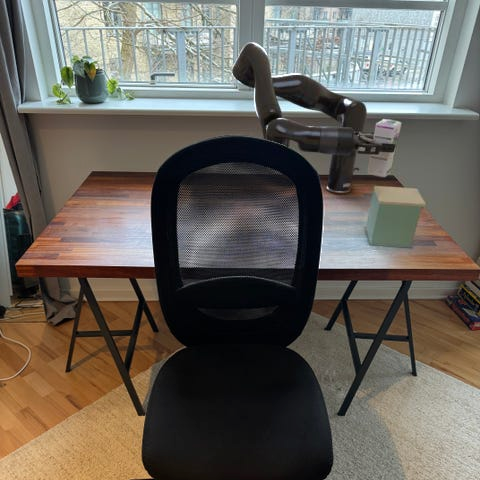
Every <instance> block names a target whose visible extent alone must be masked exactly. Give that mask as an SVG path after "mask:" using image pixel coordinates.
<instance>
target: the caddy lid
mask: <svg viewBox="0 0 480 480" xmlns="http://www.w3.org/2000/svg"><path fill="white" fill-rule="evenodd" d="M373 190H375V192H376V195H377V198H378V200H379V203H380V204H394V205H409V206H422V207H425V208H426V202H425V200H424V198H423V197H422V195H421V193H420V192H419V190H418V188H417V187H398V186H385V185H384V186H383V185H382V186H381V185H374V186H373Z"/></svg>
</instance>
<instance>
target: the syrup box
mask: <svg viewBox="0 0 480 480" xmlns="http://www.w3.org/2000/svg"><path fill="white" fill-rule="evenodd" d="M401 128H402V121H399V120H395V119H388V118H382V119H381V120H380V121H377V122H376V123H375V127H374V132H373V133H374V137H373V139H374V140H375V142H378V143H388V144H395V150H394V152H393V153H390V152H380V153H379V155H374V154H369V159H368V165H367V169H366V173H367V175H372V176H376V177H381V178H386V177H387V176H389V174H390V173H392V169H393V163H394V159H395V155H396V150H397V146H398V141H399V137H400V132H401ZM375 148H376V147H374V149H375Z"/></svg>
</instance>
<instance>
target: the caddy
mask: <svg viewBox="0 0 480 480" xmlns="http://www.w3.org/2000/svg"><path fill="white" fill-rule="evenodd" d="M422 210H423V206H409V205H394V204H380V203H379V200H378V198H377V195H376V192H375V190H374V189H373V191H372V195H371V201H370V205H369V208H368V213H367V214H368V215H367V219H366V224H365V231H366V233H367V238H368V241H369V244H370V246H380V247H394V248H395V247H396V248H410V249H411V248H412V245H413V241H414V238H415V234H416V230H417V227H418V223H419V220H420V216H421V213H422Z"/></svg>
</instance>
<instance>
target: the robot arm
mask: <svg viewBox="0 0 480 480" xmlns="http://www.w3.org/2000/svg"><path fill="white" fill-rule="evenodd" d="M231 75H232V76H233V78H234V79H235V80H236V81H237V82H238V83H239V84H242V85H243V86H245V87H248V88H251V89H253V90H254V95H253V102H254V109H255V112H256V115H257V118H258V121H259V123H260V126H261V131H262V136H263V140H264V139H266V140H270V141H274V142H277V143H280V144H283V145H285V146H287V147H289V148H290V143H291V141H293V142H295V143H296V144H297V148H298V149H299V151H301V152H304V153H319V154H322V155H323V154H324V155H331V158H330V165H329V171H328V177H327V184H326V190H327V191H328V192H330V193H333V194H339V195H344V194H349V193H350V192H351V189H352V183H353V178H354V177H353V176H354V173H355V171H356V170H357V171H360V168H359V167H355V166H356V160H357V154H359V155H370V154H374V155H379V153H380V152H390V153H393V152H394V150H395V144H388V143H378V142H375V140H374V139H373V137H374V132H373V131H372V132H371V131H370V132H369V131H364V130H365V126H366V121H367V115H368V110H367V106H366V104H365V103H364V102H363V101H360V100H358V99H356V98H354V97H350V96H346V95H343V94H339V93H337V92H333V91H331V90H330V89H328V88H327V87H326V86H324V85H323V84H321V83H320V82H319V81H317V80H315V79H314V78H311V77H309V76H307V75H305V74H302V73H299V72H296V73H287V74H281V75H272V69H271V63H270V59H269V55H268V53H267V52H266V50H265V49H264V48H263V47H262V46H261V45H259V44H258V43H256V42H247V43H246V44H245V45H243V47H242V49H241V50H240V52H239V54H238V57H237V58H236V60H235V62H234V64H233V66H232V69H231ZM277 97H278V98H280V99H283V100H285V101H287V102H289V103H292V104H293V105H296V106H298V107H300V108H303V109H306V110H311V111H315V112H320V113H323V114H325V115H327V116H328V117H329V118H332V119H333V120H335V121H337V122H338V123H339V124H340V125H341V126H332V125H331V126H329V125H327V126H315V125H314V126H313V125H306V124H303V123H300V122H297V121H293V120H291V119H289V118H285V117H283V112H282V109H281V107H280V106H281V105H280V104H279V100H278V98H277ZM374 147H376V148H375V149H374Z"/></svg>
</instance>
